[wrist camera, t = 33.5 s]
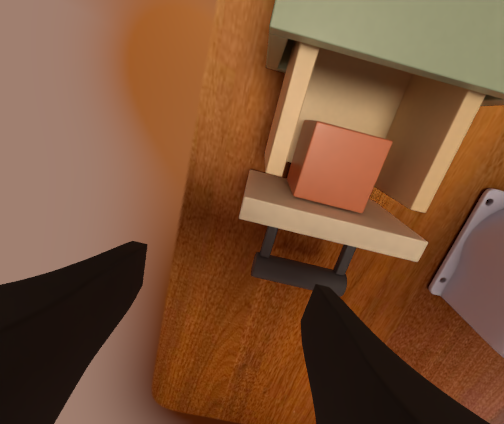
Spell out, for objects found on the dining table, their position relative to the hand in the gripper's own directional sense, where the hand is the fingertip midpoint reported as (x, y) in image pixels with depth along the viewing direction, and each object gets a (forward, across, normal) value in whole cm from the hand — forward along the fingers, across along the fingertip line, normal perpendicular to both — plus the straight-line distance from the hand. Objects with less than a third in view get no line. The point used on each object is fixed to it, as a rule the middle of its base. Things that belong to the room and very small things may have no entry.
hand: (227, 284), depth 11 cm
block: (+8, -4, -5) cm, 11 cm away
